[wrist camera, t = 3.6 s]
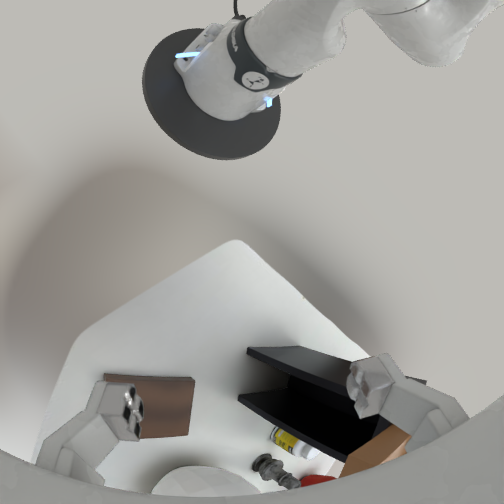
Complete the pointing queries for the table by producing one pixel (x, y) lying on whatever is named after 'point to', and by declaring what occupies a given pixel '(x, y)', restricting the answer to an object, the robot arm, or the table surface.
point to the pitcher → (203, 483)
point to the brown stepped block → (377, 451)
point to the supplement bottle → (293, 444)
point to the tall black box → (314, 401)
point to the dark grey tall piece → (274, 472)
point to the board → (162, 403)
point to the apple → (315, 480)
